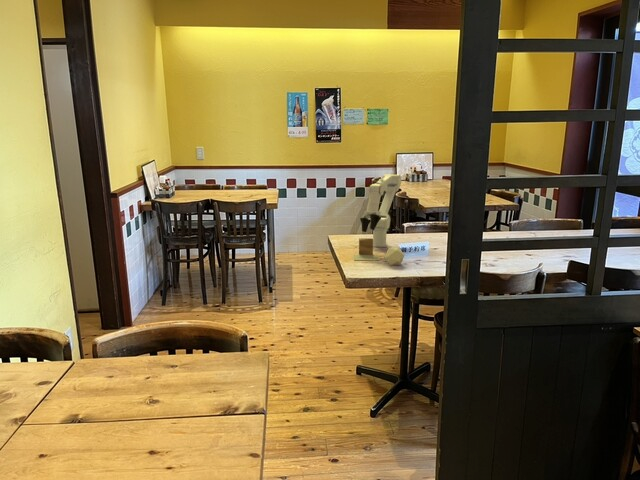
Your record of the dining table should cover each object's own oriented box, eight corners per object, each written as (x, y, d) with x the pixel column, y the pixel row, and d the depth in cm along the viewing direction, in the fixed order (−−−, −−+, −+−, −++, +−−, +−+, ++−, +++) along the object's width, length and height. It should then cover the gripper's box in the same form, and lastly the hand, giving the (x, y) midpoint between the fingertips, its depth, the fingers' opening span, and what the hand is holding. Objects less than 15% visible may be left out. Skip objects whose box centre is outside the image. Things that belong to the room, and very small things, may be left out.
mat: (354, 255, 236) (354, 255, 236) (377, 255, 235) (377, 255, 235) (354, 260, 227) (354, 259, 227) (378, 260, 226) (378, 260, 226)
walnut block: (358, 253, 240) (359, 238, 238) (372, 253, 239) (372, 238, 238) (359, 255, 237) (359, 240, 235) (372, 255, 236) (373, 240, 234)
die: (401, 268, 215) (409, 250, 217) (385, 260, 214) (393, 242, 216) (395, 270, 223) (403, 252, 225) (379, 261, 222) (388, 244, 224)
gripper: (359, 205, 246) (354, 230, 242) (374, 200, 233) (369, 225, 229) (370, 210, 248) (365, 234, 245) (386, 205, 236) (380, 230, 232)
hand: (368, 230), depth 237 cm, fingers open, 7 cm apart
